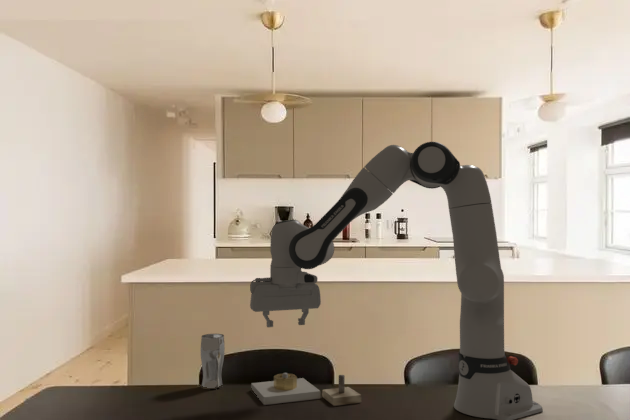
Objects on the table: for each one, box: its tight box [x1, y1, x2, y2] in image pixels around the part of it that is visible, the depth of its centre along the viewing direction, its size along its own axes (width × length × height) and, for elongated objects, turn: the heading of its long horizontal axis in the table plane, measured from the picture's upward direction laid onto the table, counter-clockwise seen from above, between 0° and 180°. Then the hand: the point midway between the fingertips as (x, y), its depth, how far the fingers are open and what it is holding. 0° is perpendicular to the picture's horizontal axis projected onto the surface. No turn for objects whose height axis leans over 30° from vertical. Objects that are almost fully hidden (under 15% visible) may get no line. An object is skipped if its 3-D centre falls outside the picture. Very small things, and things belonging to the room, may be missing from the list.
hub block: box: [250, 372, 321, 406], centre depth 146 cm, size 16×14×6 cm
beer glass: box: [200, 333, 226, 388], centre depth 153 cm, size 7×7×15 cm
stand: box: [321, 374, 362, 407], centre depth 142 cm, size 8×8×6 cm
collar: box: [273, 372, 298, 390], centre depth 146 cm, size 6×6×3 cm
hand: (285, 325), depth 147 cm, fingers open, 8 cm apart
